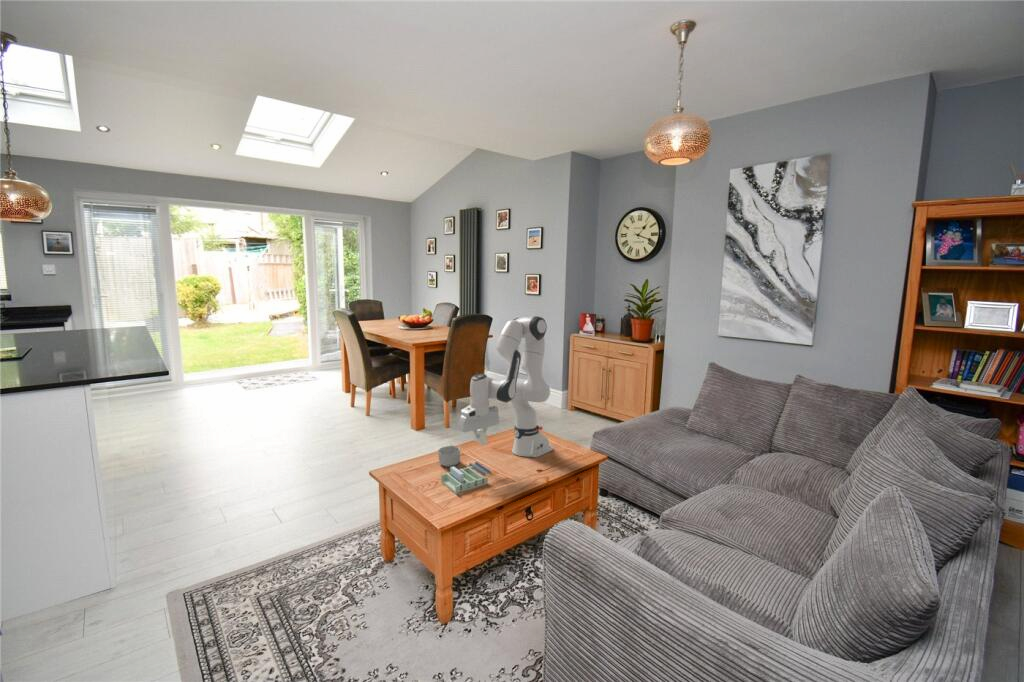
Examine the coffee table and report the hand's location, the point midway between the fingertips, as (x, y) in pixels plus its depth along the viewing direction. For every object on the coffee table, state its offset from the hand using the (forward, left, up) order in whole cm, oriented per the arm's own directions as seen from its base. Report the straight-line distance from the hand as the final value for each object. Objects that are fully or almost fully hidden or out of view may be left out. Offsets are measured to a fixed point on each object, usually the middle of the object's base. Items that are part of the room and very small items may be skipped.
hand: (480, 437), depth 215 cm
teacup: (+8, -15, -17) cm, 24 cm away
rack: (+13, +8, -17) cm, 23 cm away
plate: (0, 0, -3) cm, 3 cm away
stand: (0, 0, -17) cm, 17 cm away
